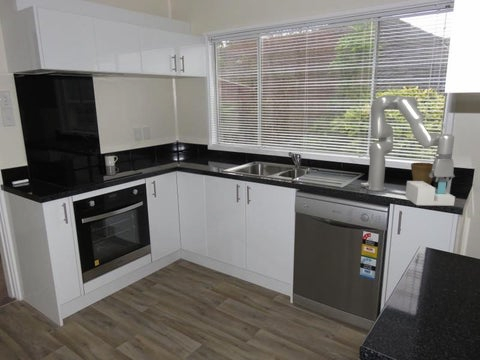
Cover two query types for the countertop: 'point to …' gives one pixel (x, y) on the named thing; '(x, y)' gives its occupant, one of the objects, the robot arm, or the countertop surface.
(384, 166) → the robot arm
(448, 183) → the pill bottle
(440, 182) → the light blue block
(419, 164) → the plant pot
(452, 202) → the console
